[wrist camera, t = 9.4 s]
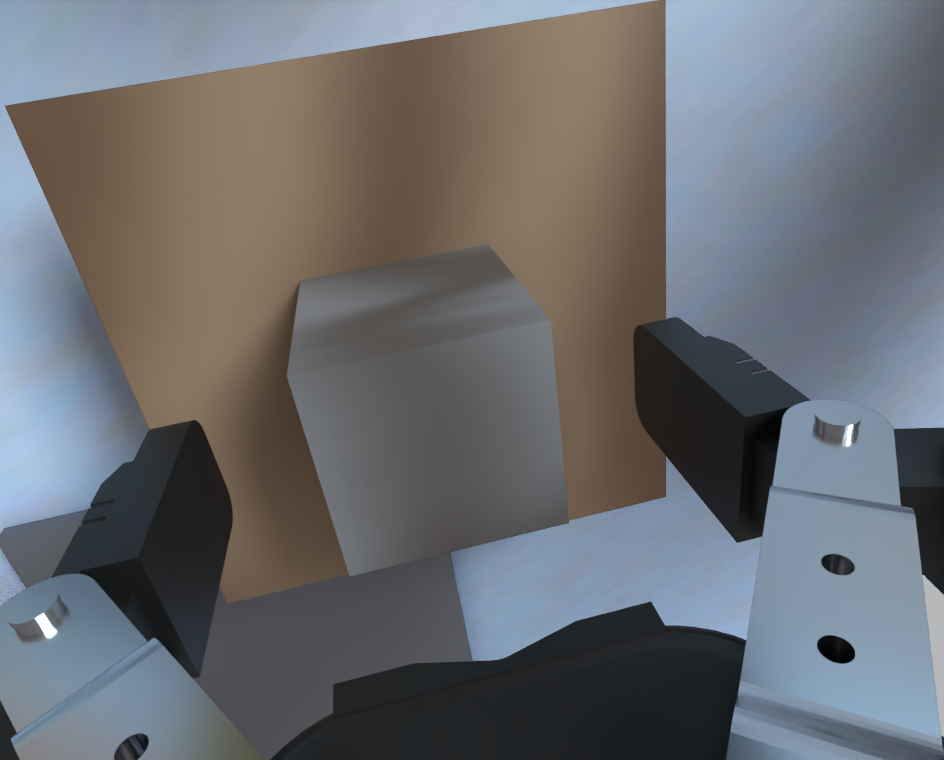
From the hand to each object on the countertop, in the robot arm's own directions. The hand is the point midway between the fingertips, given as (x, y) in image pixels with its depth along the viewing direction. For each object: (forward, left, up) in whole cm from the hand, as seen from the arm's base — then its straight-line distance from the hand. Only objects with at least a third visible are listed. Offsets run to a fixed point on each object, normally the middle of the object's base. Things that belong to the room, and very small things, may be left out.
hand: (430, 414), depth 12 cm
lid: (0, 0, -4) cm, 4 cm away
